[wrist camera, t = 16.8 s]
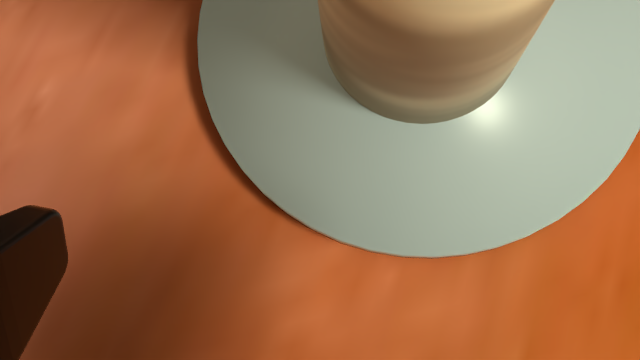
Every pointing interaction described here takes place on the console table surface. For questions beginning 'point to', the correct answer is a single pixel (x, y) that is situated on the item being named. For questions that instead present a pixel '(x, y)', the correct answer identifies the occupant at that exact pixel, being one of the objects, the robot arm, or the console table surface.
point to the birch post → (426, 52)
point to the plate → (422, 130)
